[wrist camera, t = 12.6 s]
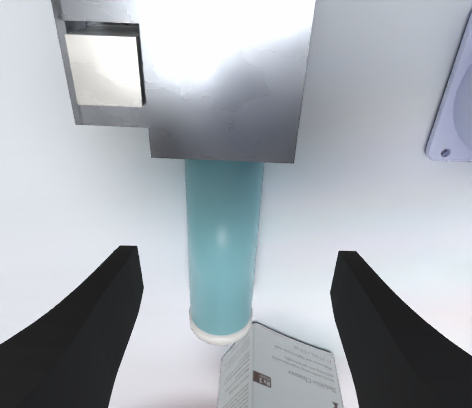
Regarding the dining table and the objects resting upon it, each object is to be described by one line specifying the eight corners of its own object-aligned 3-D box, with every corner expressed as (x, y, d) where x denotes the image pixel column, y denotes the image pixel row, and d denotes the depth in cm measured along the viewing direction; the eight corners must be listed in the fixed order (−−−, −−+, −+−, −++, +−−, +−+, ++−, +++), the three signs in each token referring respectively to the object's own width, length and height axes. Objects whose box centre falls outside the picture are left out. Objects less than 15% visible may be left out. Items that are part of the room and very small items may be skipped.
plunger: (154, 26, 18) (135, 37, 15) (158, 85, 19) (142, 107, 16) (96, 23, 18) (64, 34, 15) (104, 83, 19) (78, 104, 16)
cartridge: (187, 124, 20) (176, 157, 16) (265, 128, 20) (270, 161, 16) (193, 294, 27) (185, 344, 23) (251, 297, 27) (252, 346, 23)
